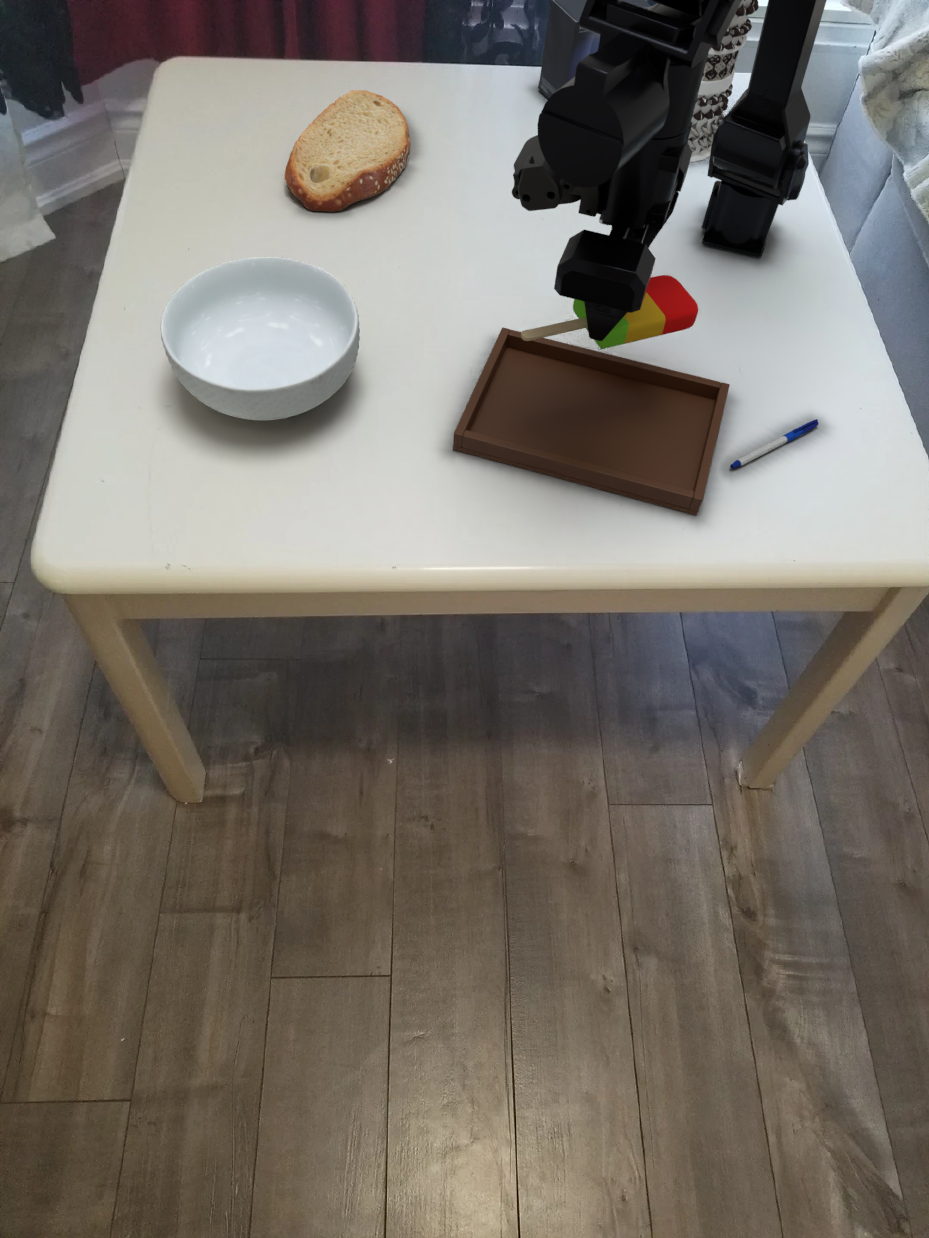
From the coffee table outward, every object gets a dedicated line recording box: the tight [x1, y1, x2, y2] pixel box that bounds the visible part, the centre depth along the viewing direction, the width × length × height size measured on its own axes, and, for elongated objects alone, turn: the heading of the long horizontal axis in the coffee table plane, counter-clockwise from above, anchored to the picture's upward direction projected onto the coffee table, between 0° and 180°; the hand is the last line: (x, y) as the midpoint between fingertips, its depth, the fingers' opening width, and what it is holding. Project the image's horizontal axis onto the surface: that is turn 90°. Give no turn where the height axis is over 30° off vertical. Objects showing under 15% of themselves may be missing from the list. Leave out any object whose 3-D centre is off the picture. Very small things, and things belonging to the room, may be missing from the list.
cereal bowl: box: [160, 256, 361, 422], centre depth 80 cm, size 17×17×7 cm
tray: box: [452, 327, 730, 516], centre depth 81 cm, size 22×15×2 cm
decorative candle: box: [687, 0, 760, 163], centre depth 98 cm, size 9×9×25 cm
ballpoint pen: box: [729, 418, 819, 469], centre depth 81 cm, size 10×1×1 cm, turn 125°
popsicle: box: [521, 274, 699, 350], centre depth 74 cm, size 6×15×2 cm, turn 112°
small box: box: [537, 0, 653, 100], centre depth 109 cm, size 11×6×10 cm, turn 118°
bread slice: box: [284, 89, 411, 212], centre depth 102 cm, size 18×18×4 cm
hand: (606, 309), depth 74 cm, fingers closed on popsicle, 7 cm apart
